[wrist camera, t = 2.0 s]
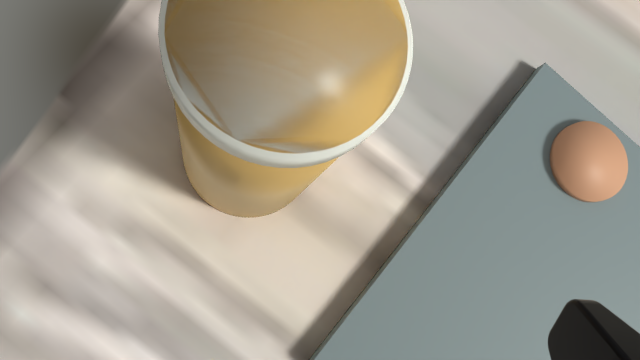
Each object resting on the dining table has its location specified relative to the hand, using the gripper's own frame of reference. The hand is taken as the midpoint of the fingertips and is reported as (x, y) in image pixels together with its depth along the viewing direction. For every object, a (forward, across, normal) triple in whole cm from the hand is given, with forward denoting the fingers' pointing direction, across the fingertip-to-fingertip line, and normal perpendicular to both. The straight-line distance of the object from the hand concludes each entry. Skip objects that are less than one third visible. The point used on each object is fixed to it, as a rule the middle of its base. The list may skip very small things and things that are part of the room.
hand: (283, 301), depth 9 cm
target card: (+8, -11, +8) cm, 16 cm away
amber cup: (+11, 0, +5) cm, 12 cm away
